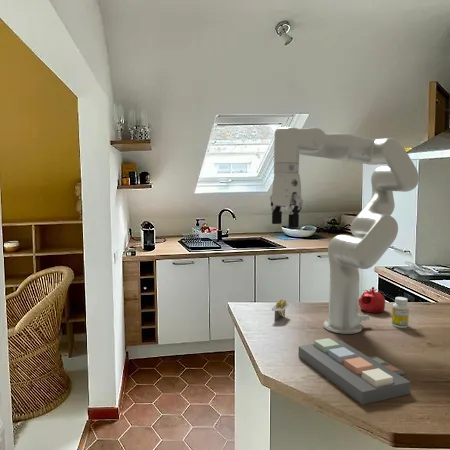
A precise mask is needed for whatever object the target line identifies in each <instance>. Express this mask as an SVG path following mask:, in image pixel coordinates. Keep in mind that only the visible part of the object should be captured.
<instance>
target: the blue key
mask: <svg viewBox="0 0 450 450" xmlns="http://www.w3.org/2000/svg"><path fill="white" fill-rule="evenodd" d="M328 356H329V357H331V358H332V359H334V360H335V361H336V362H338V363H343V362H344V360H347V359H352V358H355V354H354V353H353V352H351V351H349V350H348V349H346V348H345V347H341V348H335V349H329V350H328Z"/></svg>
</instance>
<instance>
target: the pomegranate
mask: <svg viewBox="0 0 450 450" xmlns="http://www.w3.org/2000/svg"><path fill="white" fill-rule="evenodd" d="M383 294H384V292H383V291H378V289H376V288H375V286H372V287H371V288H370V289H369V288H368V289H365V291H364V292H363V293H362V295H360V297H359V299H358V307H359V308H360V309H361V310H363V312H366V313H370V314H372V313H373V314H378V313H382V312H384V310H385V307H386V298H385V296H384V295H383Z"/></svg>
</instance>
